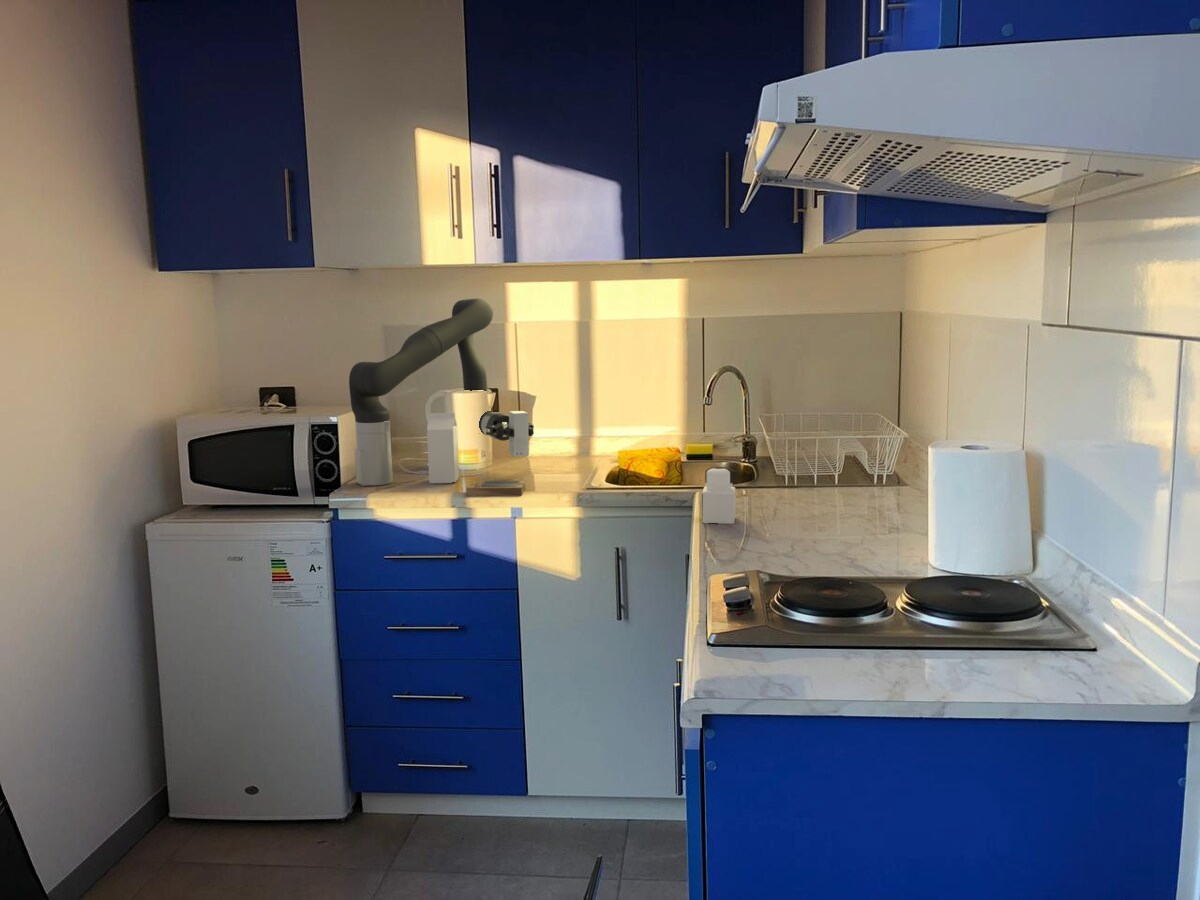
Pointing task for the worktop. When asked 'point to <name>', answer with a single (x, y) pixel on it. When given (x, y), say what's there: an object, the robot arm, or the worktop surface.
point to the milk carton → (442, 448)
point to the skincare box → (518, 433)
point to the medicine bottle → (718, 496)
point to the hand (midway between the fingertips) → (522, 432)
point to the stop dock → (497, 488)
